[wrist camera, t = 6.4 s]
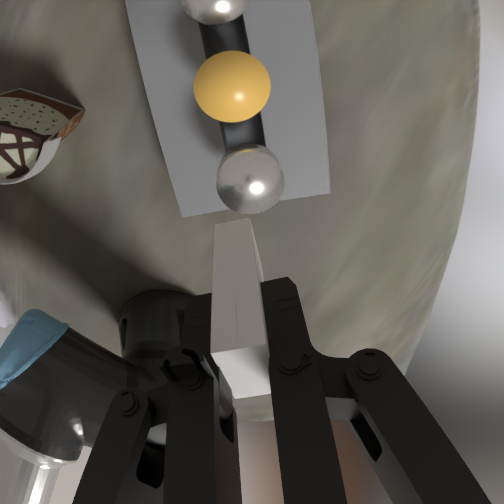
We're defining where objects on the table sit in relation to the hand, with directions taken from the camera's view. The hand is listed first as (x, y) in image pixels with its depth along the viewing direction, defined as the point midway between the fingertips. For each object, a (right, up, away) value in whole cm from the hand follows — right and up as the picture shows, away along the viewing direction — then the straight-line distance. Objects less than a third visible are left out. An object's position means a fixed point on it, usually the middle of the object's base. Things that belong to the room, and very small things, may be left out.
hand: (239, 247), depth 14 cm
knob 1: (-2, +20, +6) cm, 21 cm away
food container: (-22, +14, +13) cm, 29 cm away
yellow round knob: (-1, +13, +8) cm, 15 cm away
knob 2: (0, +8, +12) cm, 14 cm away
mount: (-1, +16, +12) cm, 21 cm away
